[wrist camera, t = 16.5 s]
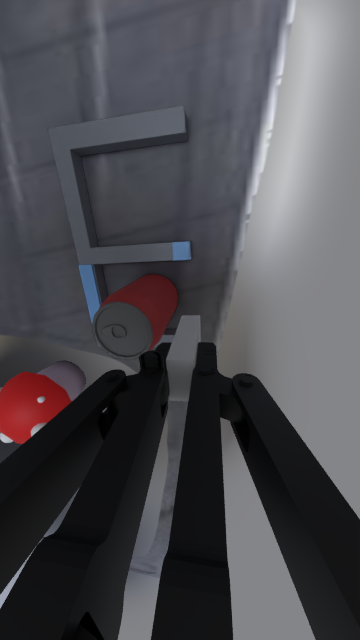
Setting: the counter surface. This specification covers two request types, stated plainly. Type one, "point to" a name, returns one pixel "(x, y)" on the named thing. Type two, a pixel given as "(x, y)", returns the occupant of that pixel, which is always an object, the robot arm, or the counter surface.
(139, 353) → the beer can
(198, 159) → the counter surface
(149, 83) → the counter surface
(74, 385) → the mushroom
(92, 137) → the duct comb
